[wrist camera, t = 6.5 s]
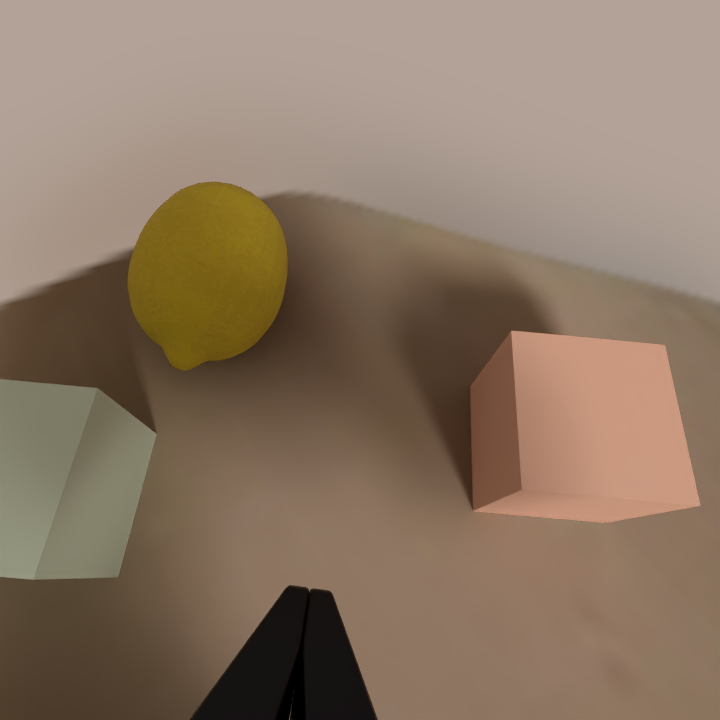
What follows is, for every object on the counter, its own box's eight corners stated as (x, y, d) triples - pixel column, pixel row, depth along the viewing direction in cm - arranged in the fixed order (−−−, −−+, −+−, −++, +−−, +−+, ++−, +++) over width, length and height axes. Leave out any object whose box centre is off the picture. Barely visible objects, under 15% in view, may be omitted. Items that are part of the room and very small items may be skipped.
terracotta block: (604, 523, 17) (700, 505, 13) (472, 511, 17) (522, 489, 13) (587, 397, 20) (664, 344, 15) (469, 386, 19) (511, 330, 15)
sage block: (119, 577, 16) (33, 579, 11) (-30, 564, 16) (-176, 562, 11) (157, 434, 18) (97, 388, 13) (26, 422, 18) (-78, 371, 13)
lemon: (256, 409, 19) (298, 252, 22) (261, 356, 14) (313, 164, 17) (115, 378, 18) (180, 220, 21) (67, 311, 13) (161, 118, 16)
